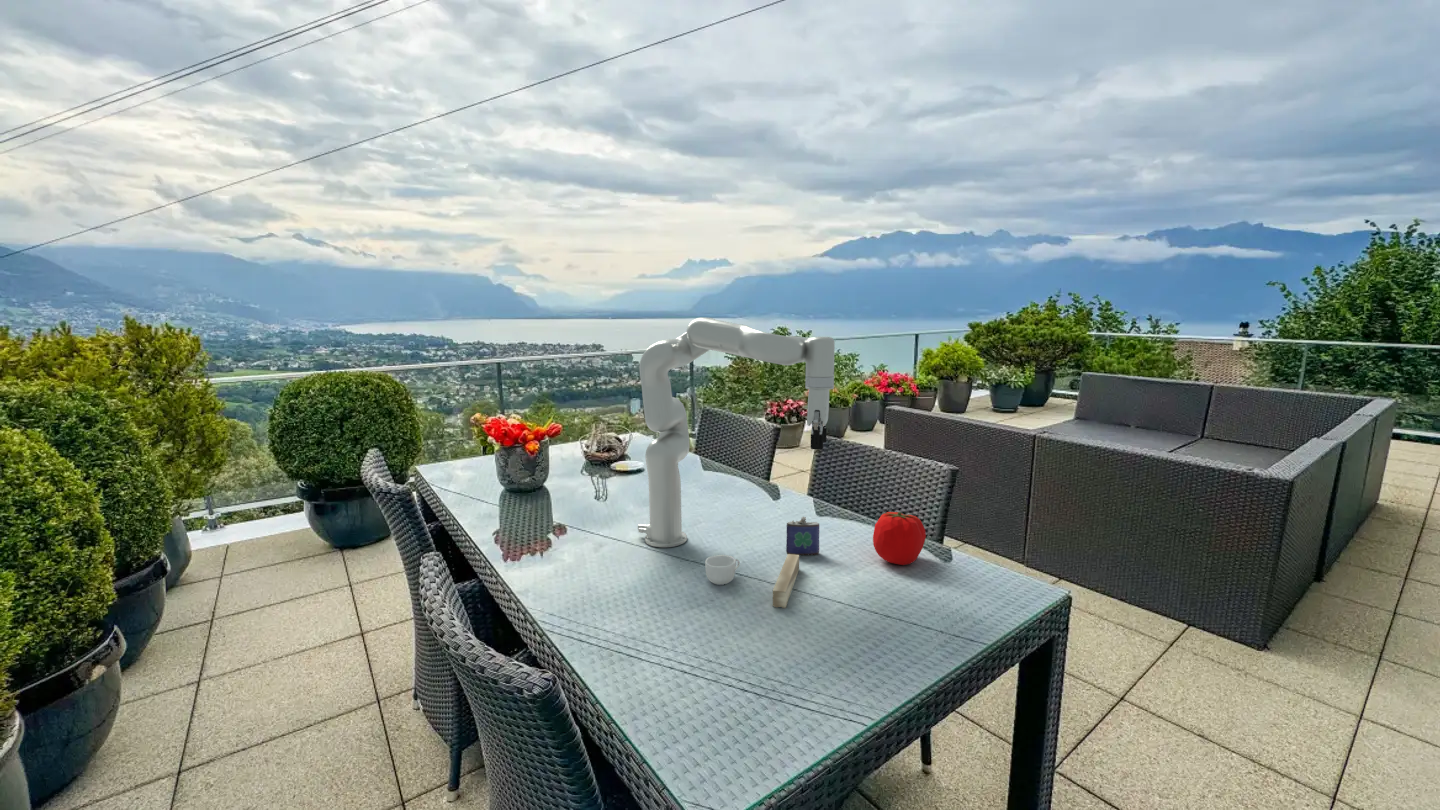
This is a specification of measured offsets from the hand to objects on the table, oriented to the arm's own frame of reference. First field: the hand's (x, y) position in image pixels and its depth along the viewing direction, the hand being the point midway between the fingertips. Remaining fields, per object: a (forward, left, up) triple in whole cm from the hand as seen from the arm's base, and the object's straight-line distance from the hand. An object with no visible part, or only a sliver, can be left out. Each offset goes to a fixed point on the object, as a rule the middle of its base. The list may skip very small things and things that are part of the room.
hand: (818, 445), depth 159 cm
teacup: (-21, -22, -32) cm, 44 cm away
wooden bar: (-5, -22, -31) cm, 39 cm away
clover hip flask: (-4, 0, -32) cm, 32 cm away
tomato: (+22, +2, -31) cm, 38 cm away
